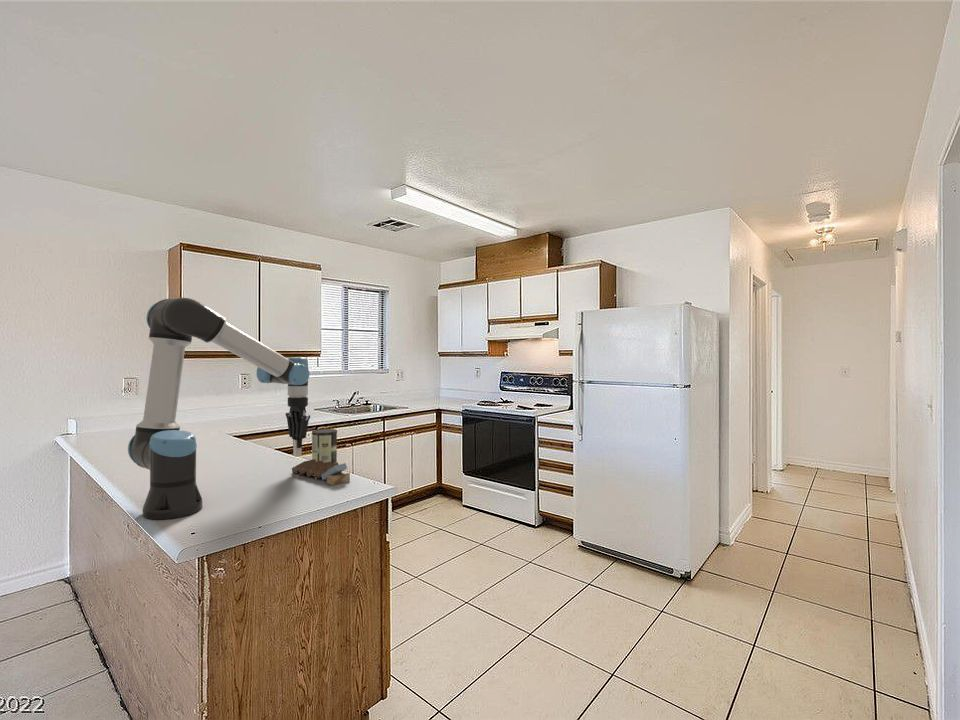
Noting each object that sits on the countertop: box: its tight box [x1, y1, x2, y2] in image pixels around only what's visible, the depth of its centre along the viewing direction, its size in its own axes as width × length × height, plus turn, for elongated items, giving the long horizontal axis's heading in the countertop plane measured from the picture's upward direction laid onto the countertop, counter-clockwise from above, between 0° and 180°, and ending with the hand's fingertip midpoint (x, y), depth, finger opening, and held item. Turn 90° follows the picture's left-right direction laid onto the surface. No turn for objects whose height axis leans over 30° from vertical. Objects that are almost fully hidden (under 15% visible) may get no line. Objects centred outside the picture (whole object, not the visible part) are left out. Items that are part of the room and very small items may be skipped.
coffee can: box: [311, 428, 338, 464], centre depth 207 cm, size 10×10×14 cm
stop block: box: [326, 471, 351, 486], centre depth 179 cm, size 8×3×3 cm, turn 145°
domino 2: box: [298, 461, 323, 476], centre depth 188 cm, size 2×5×9 cm
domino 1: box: [291, 459, 316, 474], centre depth 190 cm, size 2×5×9 cm
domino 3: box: [306, 462, 331, 478], centre depth 185 cm, size 2×5×9 cm
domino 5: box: [321, 462, 348, 481], centre depth 180 cm, size 2×5×9 cm
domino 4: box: [313, 461, 339, 480], centre depth 182 cm, size 2×5×9 cm
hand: (297, 455), depth 193 cm, fingers closed
